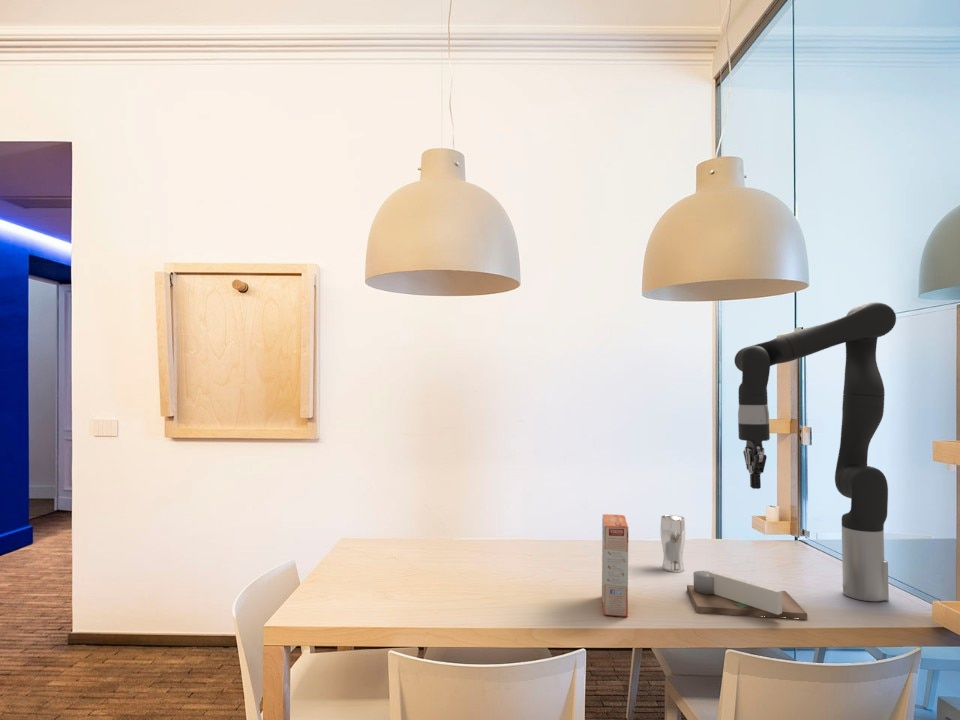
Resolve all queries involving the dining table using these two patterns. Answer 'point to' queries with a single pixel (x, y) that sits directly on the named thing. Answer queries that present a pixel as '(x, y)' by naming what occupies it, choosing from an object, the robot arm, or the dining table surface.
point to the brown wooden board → (741, 606)
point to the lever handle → (738, 590)
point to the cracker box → (615, 565)
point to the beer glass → (673, 542)
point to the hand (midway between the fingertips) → (755, 488)
